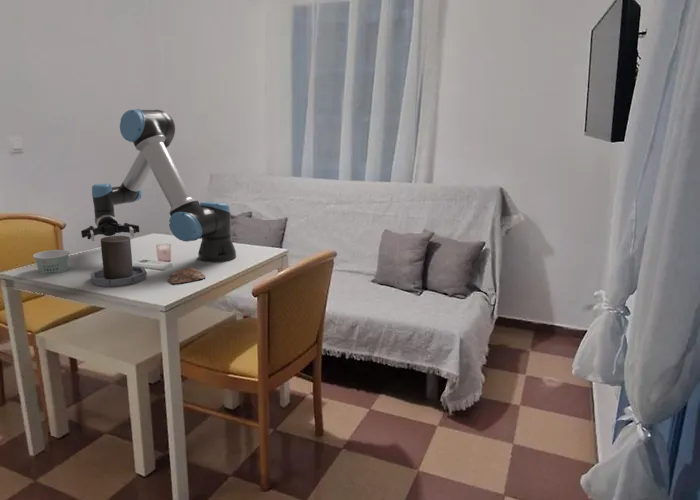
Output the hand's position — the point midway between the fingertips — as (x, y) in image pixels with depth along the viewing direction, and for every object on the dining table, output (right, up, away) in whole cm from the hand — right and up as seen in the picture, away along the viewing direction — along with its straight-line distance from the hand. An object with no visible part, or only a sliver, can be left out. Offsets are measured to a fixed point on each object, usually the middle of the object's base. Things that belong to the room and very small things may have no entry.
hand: (113, 235), depth 191 cm
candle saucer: (+5, -16, -7) cm, 18 cm away
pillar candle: (+5, -15, -7) cm, 17 cm away
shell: (+28, -16, -4) cm, 33 cm away
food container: (-23, -13, +2) cm, 27 cm away
